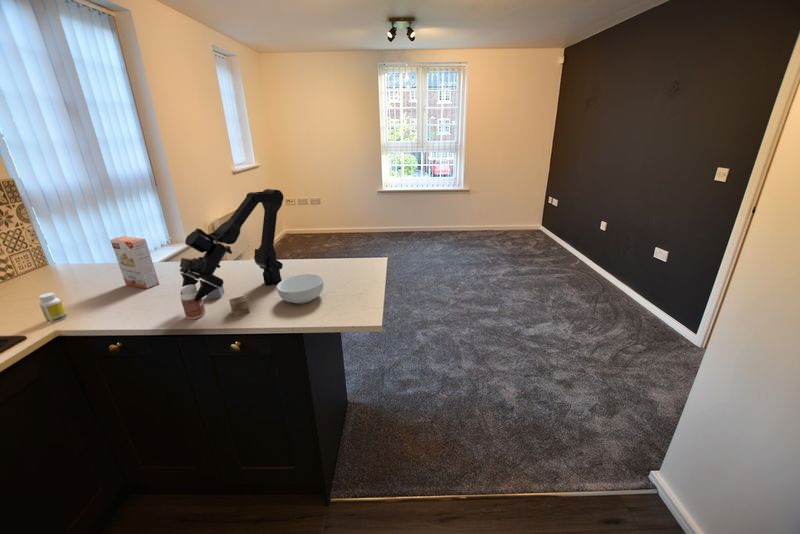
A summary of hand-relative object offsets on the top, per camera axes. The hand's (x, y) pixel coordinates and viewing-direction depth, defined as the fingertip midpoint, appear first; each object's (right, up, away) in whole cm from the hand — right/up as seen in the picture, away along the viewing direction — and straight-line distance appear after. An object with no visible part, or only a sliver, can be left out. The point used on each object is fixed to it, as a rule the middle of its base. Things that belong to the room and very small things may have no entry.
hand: (188, 298), depth 123 cm
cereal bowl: (+36, -2, +13) cm, 38 cm away
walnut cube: (+16, -6, +4) cm, 18 cm away
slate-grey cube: (0, -1, +18) cm, 18 cm away
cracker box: (-39, +3, +31) cm, 50 cm away
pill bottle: (+1, -7, +3) cm, 7 cm away
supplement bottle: (-49, -8, +4) cm, 50 cm away
